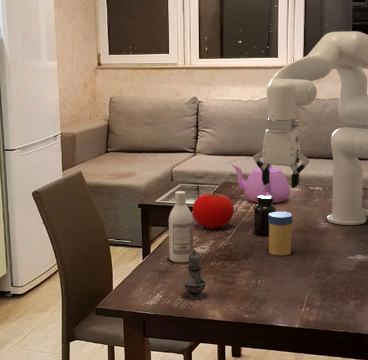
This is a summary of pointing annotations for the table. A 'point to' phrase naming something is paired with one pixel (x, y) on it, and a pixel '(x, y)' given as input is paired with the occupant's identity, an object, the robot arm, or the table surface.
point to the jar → (279, 239)
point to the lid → (280, 218)
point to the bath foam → (180, 230)
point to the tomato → (213, 210)
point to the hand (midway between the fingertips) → (280, 185)
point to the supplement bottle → (263, 215)
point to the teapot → (255, 186)
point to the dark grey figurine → (194, 278)
